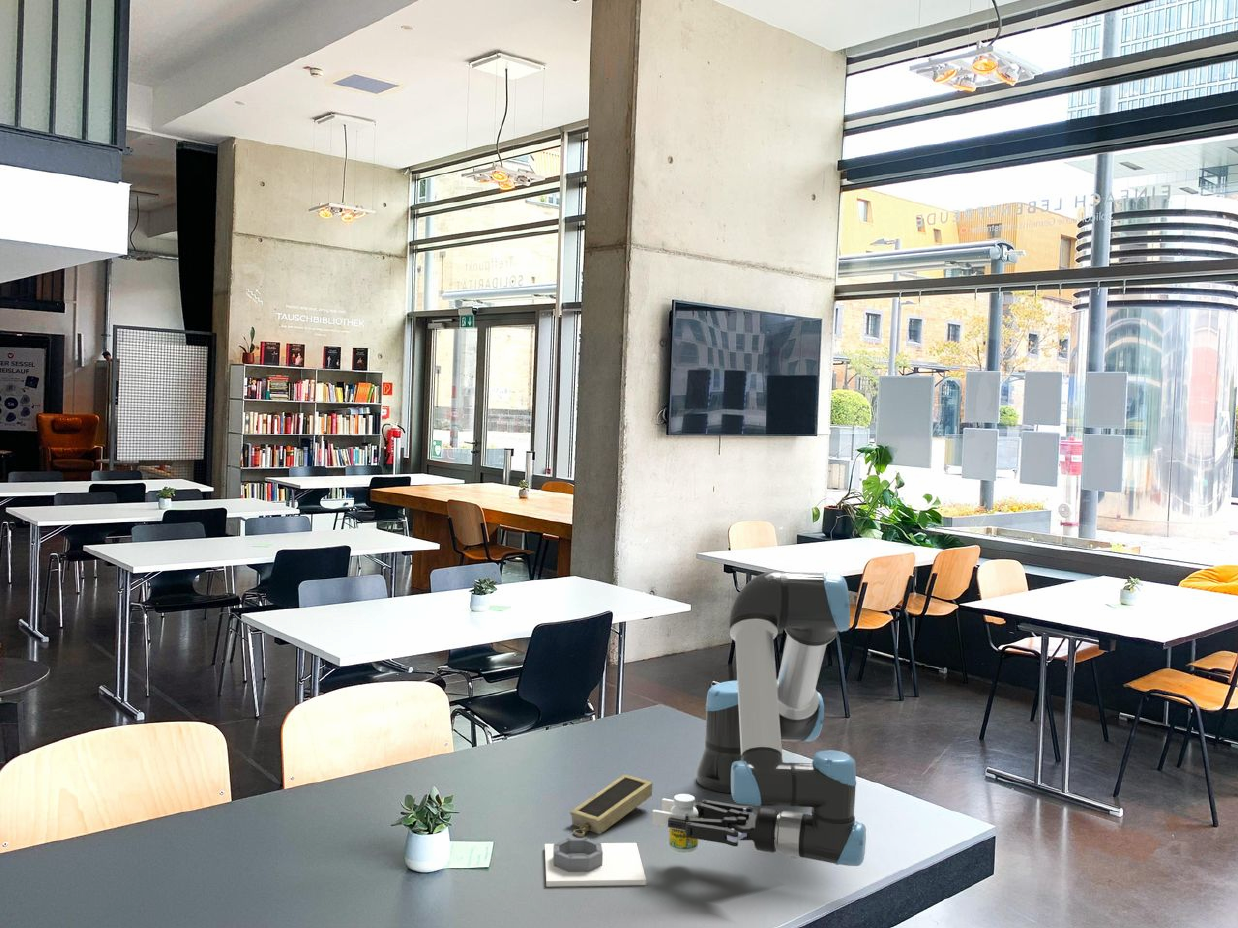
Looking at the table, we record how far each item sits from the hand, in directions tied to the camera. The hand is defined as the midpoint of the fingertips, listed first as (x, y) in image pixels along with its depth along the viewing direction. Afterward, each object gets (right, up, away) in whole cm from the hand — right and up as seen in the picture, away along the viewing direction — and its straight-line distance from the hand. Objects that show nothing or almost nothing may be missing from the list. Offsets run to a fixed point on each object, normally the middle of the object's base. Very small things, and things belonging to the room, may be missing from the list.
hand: (657, 811), depth 188 cm
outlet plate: (-12, -9, -3) cm, 16 cm away
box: (-10, -9, +20) cm, 24 cm away
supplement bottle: (+5, -7, -1) cm, 8 cm away
